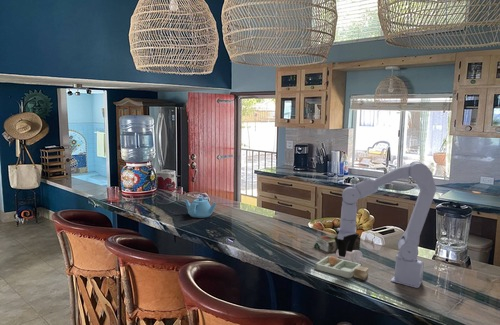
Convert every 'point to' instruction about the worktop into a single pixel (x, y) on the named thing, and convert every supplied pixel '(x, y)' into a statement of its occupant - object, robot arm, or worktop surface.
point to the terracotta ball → (332, 260)
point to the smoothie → (352, 256)
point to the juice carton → (331, 243)
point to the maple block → (361, 272)
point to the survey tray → (337, 267)
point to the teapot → (200, 208)
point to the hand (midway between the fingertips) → (345, 253)
